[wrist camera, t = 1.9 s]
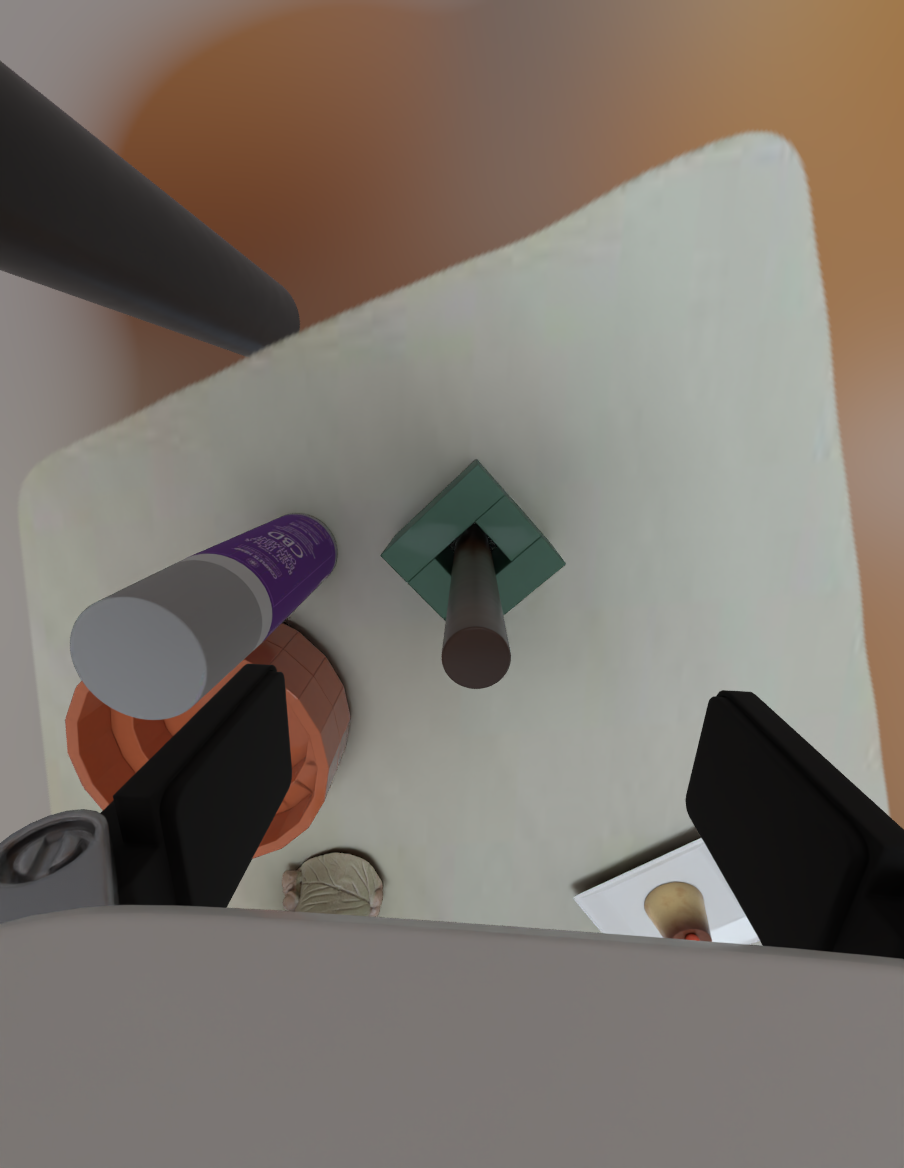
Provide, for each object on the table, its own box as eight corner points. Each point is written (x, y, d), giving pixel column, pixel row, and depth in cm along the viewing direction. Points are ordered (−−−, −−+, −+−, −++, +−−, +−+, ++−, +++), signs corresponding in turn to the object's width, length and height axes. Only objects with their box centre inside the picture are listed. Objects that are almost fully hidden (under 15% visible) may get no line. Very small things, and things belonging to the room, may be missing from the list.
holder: (394, 535, 28) (380, 555, 24) (476, 458, 27) (478, 463, 22) (468, 611, 30) (468, 644, 25) (550, 542, 28) (566, 564, 24)
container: (342, 522, 28) (214, 611, 14) (332, 592, 30) (207, 736, 16) (268, 505, 28) (61, 577, 14) (261, 576, 30) (67, 707, 15)
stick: (449, 538, 28) (427, 656, 13) (473, 516, 28) (478, 613, 13) (471, 560, 29) (473, 702, 14) (494, 540, 28) (525, 661, 13)
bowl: (94, 696, 33) (16, 751, 27) (227, 556, 29) (168, 585, 24) (258, 824, 36) (219, 897, 30) (397, 712, 32) (381, 771, 27)
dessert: (708, 819, 34) (745, 877, 30) (774, 917, 37) (817, 984, 33) (569, 884, 37) (583, 947, 32) (641, 971, 40) (663, 1041, 35)
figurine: (284, 837, 36) (83, 1279, 17) (390, 853, 36) (303, 1309, 17) (280, 917, 39) (102, 1373, 20) (378, 931, 39) (293, 1398, 20)
